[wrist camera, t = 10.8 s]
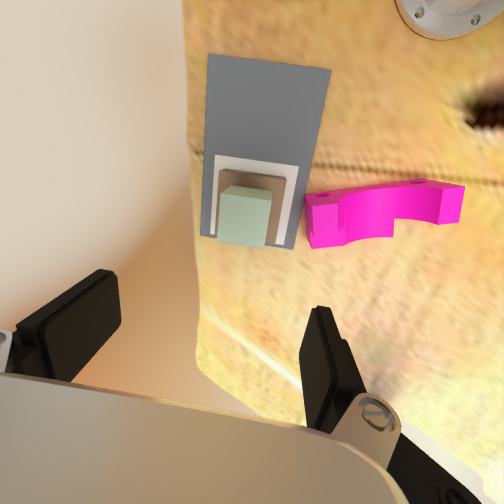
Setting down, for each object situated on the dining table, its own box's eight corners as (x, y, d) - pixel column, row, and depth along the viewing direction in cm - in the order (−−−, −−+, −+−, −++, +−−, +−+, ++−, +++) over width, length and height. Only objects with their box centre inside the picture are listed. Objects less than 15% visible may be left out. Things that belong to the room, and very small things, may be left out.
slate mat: (330, 70, 27) (331, 69, 27) (292, 248, 36) (292, 249, 35) (209, 54, 27) (208, 53, 27) (200, 234, 36) (200, 235, 36)
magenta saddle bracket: (307, 237, 35) (315, 258, 28) (304, 194, 33) (312, 206, 26) (417, 224, 33) (454, 244, 26) (422, 178, 31) (465, 186, 24)
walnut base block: (285, 176, 31) (286, 180, 28) (275, 233, 35) (275, 243, 31) (225, 168, 32) (219, 170, 28) (220, 225, 35) (214, 234, 31)
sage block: (272, 191, 28) (271, 201, 23) (265, 231, 30) (264, 248, 25) (230, 185, 29) (220, 193, 23) (227, 225, 31) (216, 241, 25)
